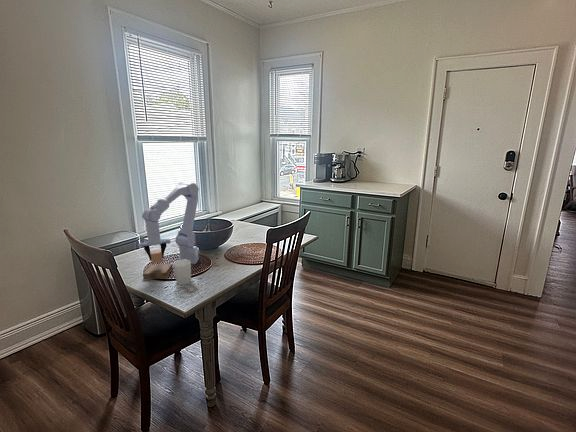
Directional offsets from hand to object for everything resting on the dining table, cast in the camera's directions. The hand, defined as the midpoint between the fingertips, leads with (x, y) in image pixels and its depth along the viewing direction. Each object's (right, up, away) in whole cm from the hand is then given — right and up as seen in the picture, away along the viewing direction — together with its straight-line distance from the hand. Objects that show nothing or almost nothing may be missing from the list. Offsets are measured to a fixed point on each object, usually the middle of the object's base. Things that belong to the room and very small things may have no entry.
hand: (156, 258), depth 159 cm
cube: (0, -1, 0) cm, 2 cm away
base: (0, -8, +2) cm, 8 cm away
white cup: (+16, -10, -6) cm, 20 cm away
